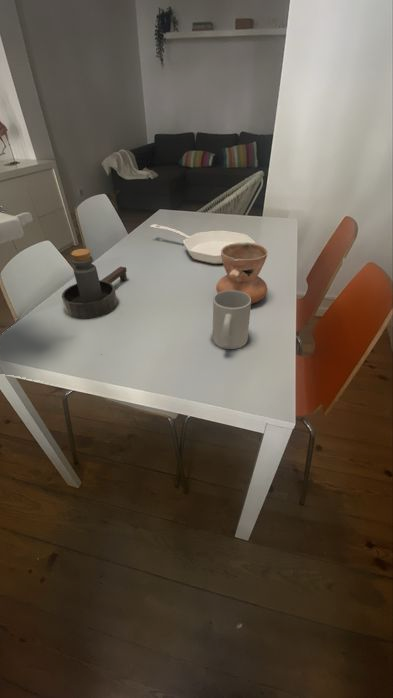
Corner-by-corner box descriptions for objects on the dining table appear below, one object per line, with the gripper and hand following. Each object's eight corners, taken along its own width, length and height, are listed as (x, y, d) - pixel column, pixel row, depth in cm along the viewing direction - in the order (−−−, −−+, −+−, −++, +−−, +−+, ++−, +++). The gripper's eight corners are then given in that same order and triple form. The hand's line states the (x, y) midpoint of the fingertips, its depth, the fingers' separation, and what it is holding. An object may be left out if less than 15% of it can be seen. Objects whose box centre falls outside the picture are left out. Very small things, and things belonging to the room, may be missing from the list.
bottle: (100, 296, 94) (88, 246, 84) (106, 304, 90) (95, 253, 80) (80, 301, 91) (66, 250, 82) (85, 310, 87) (71, 258, 78)
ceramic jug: (256, 316, 84) (262, 266, 76) (206, 306, 89) (206, 257, 81) (273, 288, 97) (279, 241, 88) (228, 280, 102) (230, 235, 93)
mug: (216, 327, 81) (216, 288, 74) (249, 331, 79) (253, 291, 73) (205, 356, 72) (205, 314, 65) (243, 361, 70) (247, 319, 63)
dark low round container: (55, 313, 88) (50, 299, 85) (86, 290, 98) (83, 277, 96) (98, 323, 84) (94, 308, 81) (126, 298, 94) (124, 284, 91)
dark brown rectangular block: (103, 293, 97) (100, 280, 94) (122, 278, 105) (120, 266, 102) (109, 295, 96) (106, 281, 93) (128, 279, 104) (126, 267, 101)
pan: (234, 272, 107) (235, 253, 103) (134, 249, 125) (131, 233, 121) (262, 247, 124) (264, 231, 120) (170, 231, 142) (169, 216, 138)
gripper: (-35, 222, 50) (42, 203, 59) (-88, 205, 60) (-15, 191, 69) (-18, 260, 54) (52, 237, 63) (-70, 239, 64) (-3, 221, 73)
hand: (17, 213), depth 66 cm, fingers open, 8 cm apart
